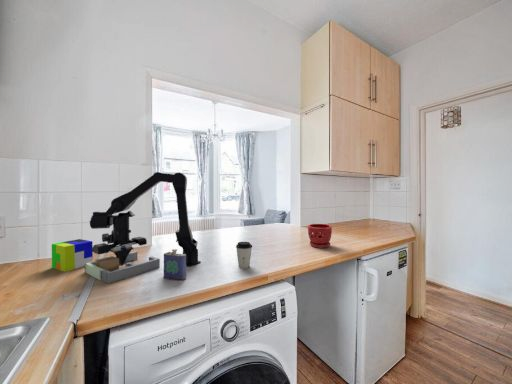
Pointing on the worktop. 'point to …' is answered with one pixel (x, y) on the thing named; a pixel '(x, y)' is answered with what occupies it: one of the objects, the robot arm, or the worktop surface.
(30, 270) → the worktop surface
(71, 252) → the puzzle toy
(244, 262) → the coffee cup
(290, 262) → the worktop surface
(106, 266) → the walnut block
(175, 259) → the flask
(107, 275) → the box
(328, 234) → the plant pot
